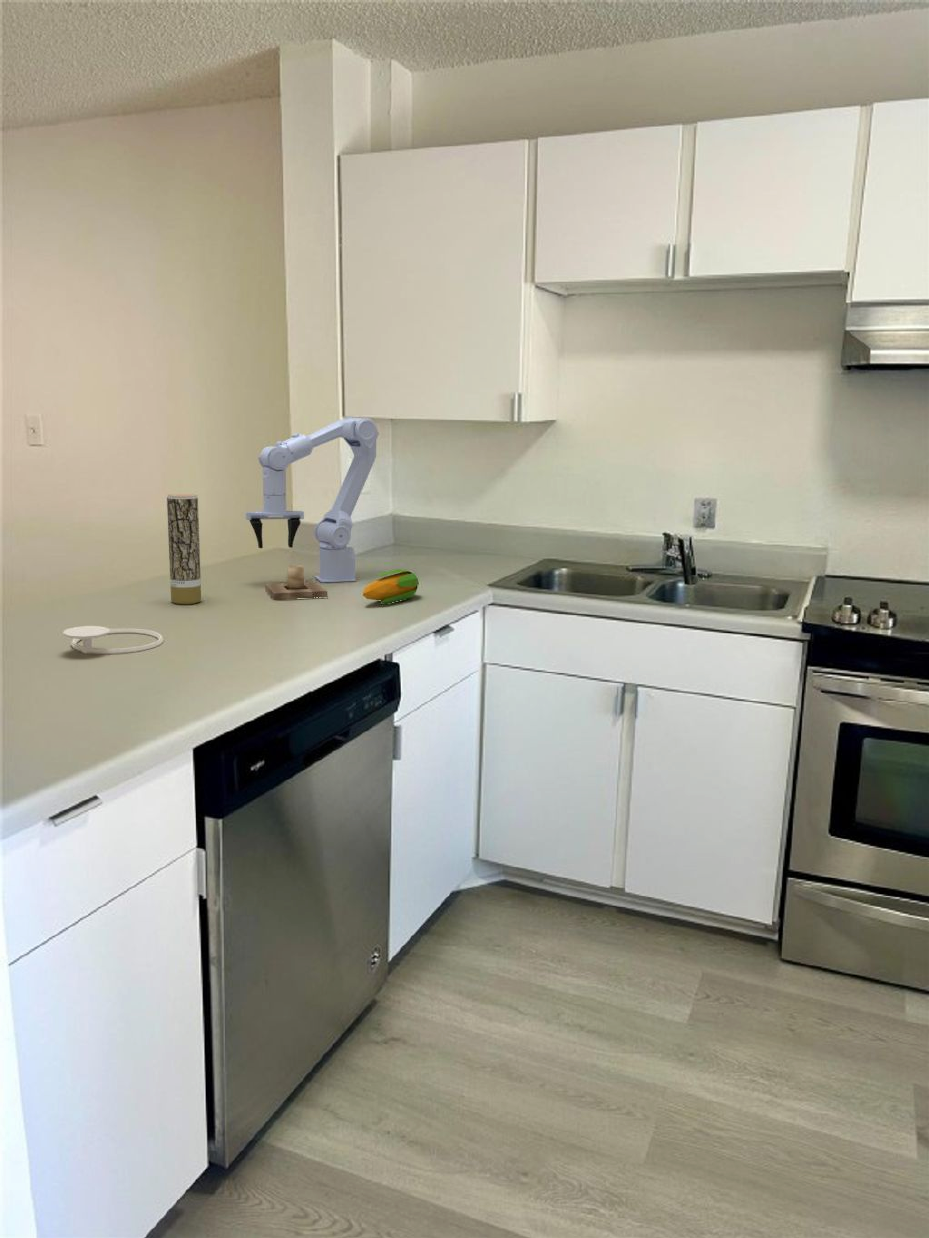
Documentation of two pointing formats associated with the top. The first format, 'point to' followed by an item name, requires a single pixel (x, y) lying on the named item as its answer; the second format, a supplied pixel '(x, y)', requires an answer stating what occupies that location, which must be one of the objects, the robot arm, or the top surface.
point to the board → (295, 591)
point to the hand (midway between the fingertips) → (275, 547)
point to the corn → (392, 587)
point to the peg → (295, 577)
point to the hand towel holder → (99, 631)
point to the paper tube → (184, 548)
